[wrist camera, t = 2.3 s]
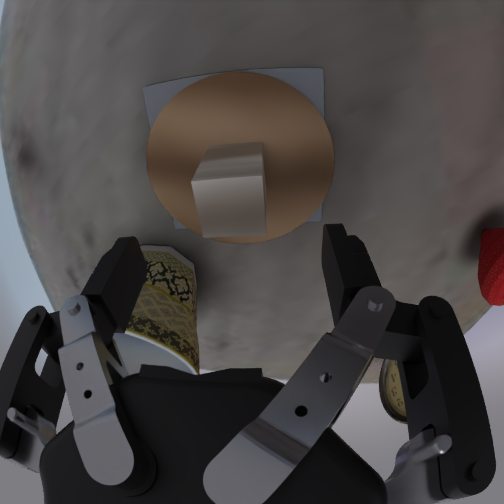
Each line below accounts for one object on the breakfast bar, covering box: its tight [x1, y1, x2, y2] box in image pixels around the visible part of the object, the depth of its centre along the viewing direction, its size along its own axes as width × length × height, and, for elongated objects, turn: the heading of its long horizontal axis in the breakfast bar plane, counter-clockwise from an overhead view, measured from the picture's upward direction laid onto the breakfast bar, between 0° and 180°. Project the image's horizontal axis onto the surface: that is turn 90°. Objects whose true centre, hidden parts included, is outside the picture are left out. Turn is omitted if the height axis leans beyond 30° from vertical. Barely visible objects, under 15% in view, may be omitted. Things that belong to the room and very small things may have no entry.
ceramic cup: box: [113, 245, 199, 375], centre depth 22 cm, size 13×10×10 cm
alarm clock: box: [379, 359, 407, 424], centre depth 25 cm, size 11×5×16 cm, turn 158°
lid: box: [146, 71, 335, 244], centre depth 16 cm, size 12×12×6 cm
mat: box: [142, 67, 324, 229], centre depth 18 cm, size 11×11×1 cm
